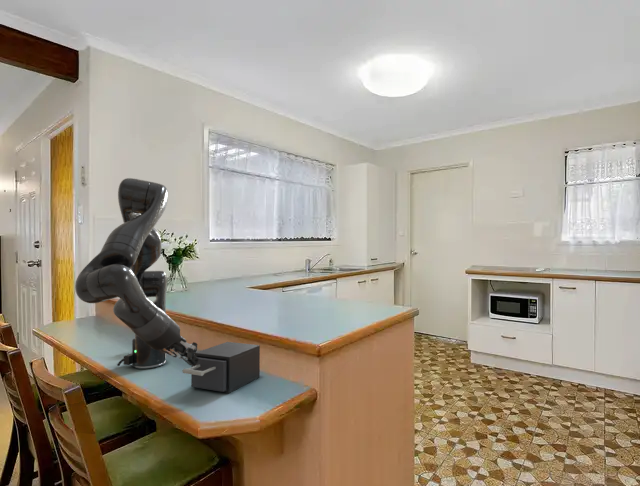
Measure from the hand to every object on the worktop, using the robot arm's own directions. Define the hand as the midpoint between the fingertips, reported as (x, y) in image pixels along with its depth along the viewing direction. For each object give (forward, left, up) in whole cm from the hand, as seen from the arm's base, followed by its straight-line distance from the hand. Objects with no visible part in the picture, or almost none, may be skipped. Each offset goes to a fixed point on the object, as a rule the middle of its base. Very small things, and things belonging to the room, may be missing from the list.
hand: (194, 362), depth 100 cm
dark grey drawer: (+1, +8, -9) cm, 12 cm away
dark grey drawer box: (+2, +13, -10) cm, 16 cm away
